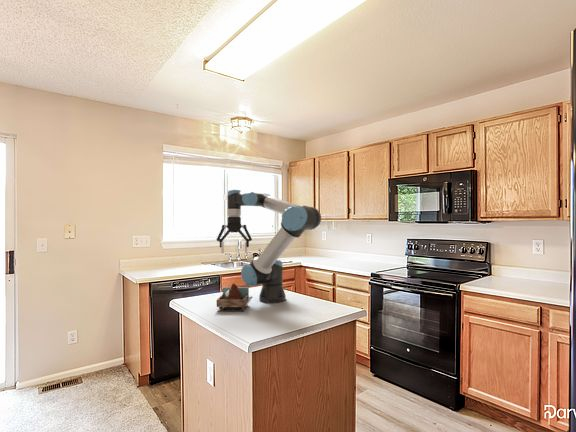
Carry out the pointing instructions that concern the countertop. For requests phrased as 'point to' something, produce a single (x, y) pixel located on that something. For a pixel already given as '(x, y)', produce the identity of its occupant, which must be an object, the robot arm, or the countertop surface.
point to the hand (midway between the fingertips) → (234, 253)
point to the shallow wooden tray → (233, 303)
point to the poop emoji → (233, 293)
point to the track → (233, 311)
